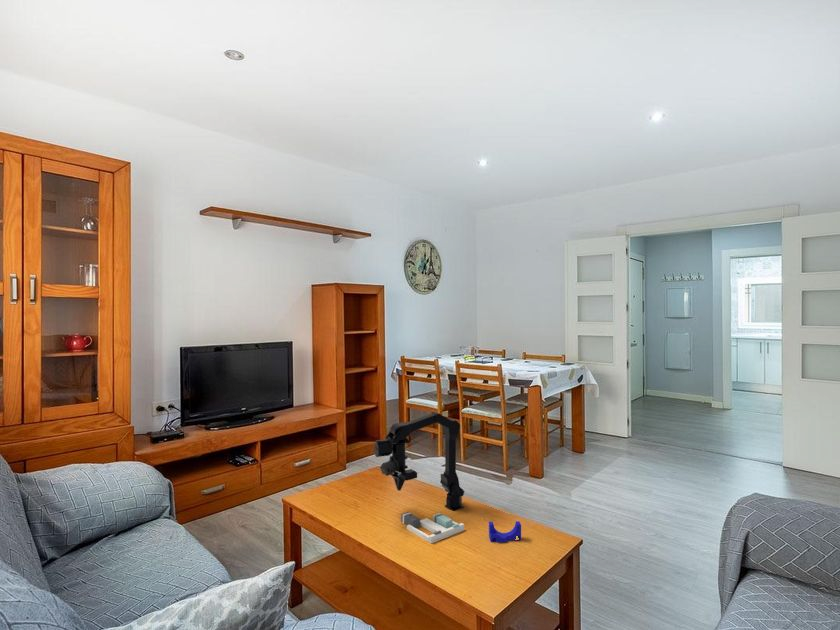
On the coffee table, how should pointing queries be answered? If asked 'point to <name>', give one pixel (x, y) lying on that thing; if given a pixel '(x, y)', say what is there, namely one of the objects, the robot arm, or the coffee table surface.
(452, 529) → the slot rack
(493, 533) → the blue cradle block
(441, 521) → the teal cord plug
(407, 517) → the dark grey block
